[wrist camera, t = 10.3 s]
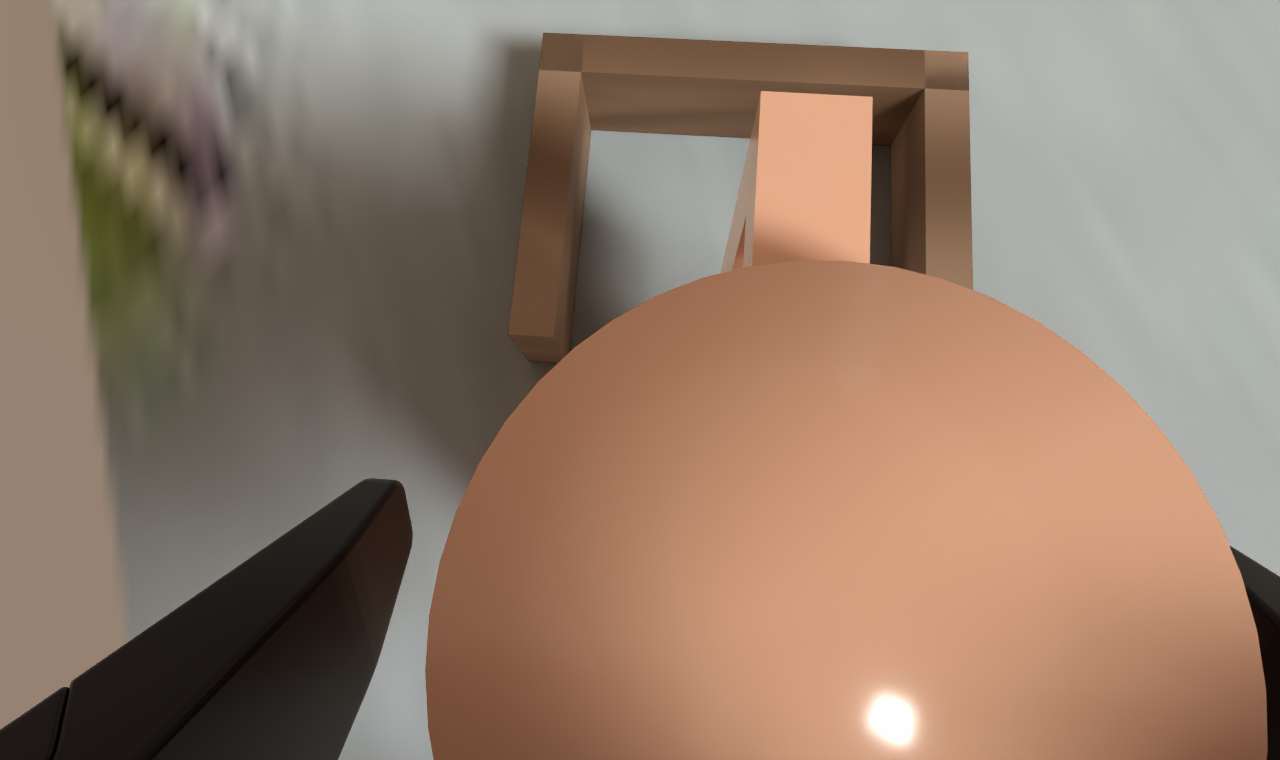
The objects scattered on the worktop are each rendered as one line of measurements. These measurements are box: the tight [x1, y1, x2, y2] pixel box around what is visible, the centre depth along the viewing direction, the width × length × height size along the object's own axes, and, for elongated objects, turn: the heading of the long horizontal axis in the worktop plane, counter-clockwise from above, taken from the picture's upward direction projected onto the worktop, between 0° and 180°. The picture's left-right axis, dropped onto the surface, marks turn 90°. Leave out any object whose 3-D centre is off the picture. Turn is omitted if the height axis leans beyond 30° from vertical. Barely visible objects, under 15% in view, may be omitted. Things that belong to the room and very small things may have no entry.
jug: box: [425, 91, 1268, 760], centre depth 11 cm, size 8×6×12 cm
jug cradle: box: [508, 33, 973, 363], centre depth 17 cm, size 8×10×2 cm
